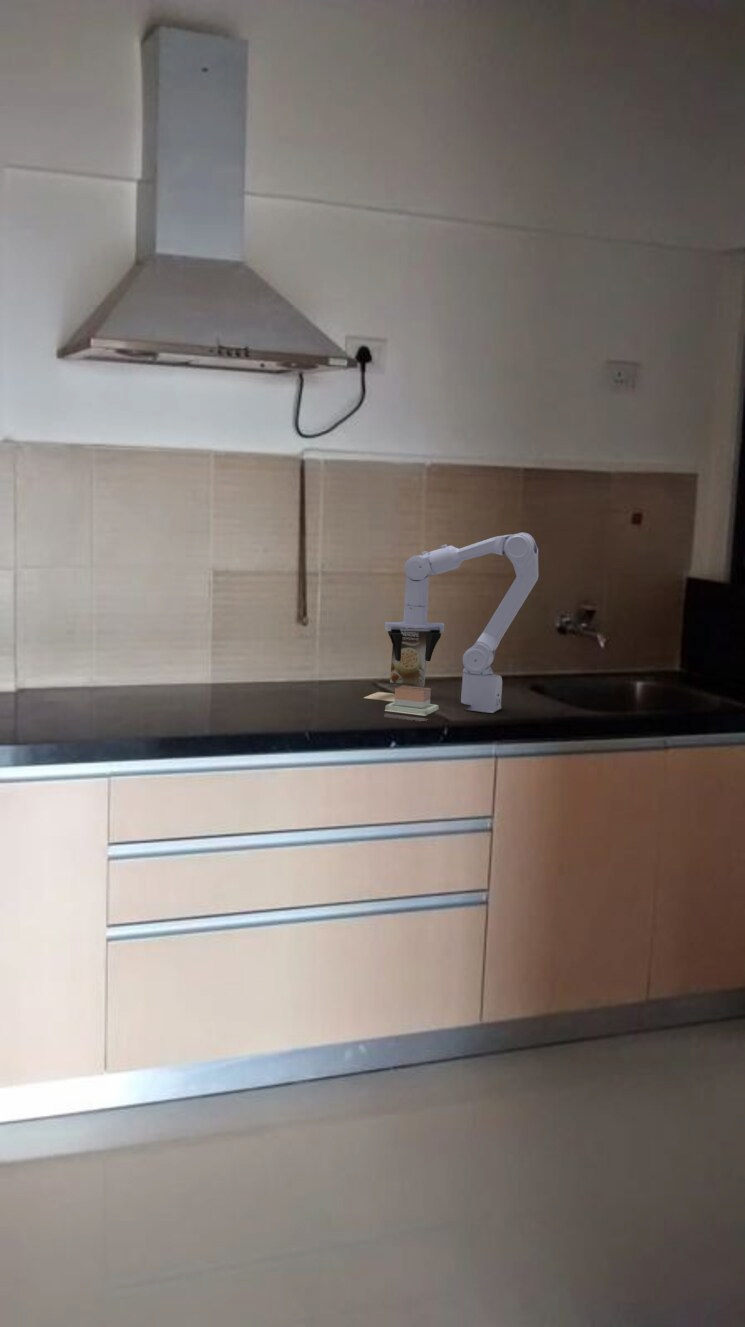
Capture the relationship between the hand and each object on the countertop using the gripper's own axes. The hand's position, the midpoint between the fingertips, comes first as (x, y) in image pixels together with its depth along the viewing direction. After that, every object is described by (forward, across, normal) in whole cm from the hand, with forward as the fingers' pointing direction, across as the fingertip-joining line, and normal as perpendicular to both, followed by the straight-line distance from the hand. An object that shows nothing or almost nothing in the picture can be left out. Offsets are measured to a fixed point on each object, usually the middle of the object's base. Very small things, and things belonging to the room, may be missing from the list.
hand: (412, 660), depth 323 cm
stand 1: (+10, -6, -1) cm, 12 cm away
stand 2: (+10, -5, -16) cm, 20 cm away
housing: (+9, -5, -16) cm, 19 cm away
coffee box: (+11, +6, +21) cm, 24 cm away
